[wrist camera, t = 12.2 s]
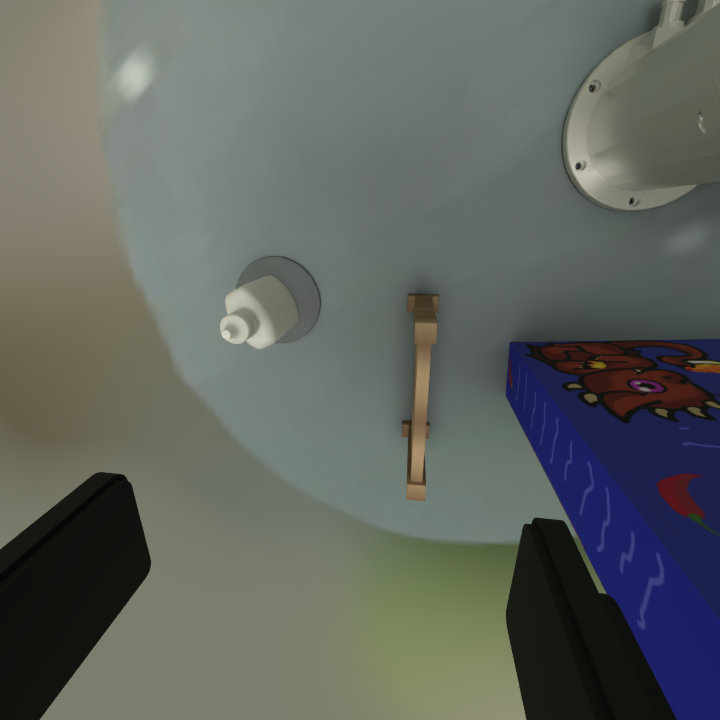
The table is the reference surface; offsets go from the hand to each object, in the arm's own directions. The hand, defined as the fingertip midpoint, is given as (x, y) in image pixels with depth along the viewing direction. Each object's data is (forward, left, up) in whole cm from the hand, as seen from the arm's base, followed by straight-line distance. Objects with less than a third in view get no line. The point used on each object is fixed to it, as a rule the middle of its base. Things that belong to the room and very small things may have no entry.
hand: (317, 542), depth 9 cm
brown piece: (+8, +3, -32) cm, 33 cm away
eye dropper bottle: (+1, -12, -32) cm, 34 cm away
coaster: (+1, -12, -32) cm, 34 cm away
